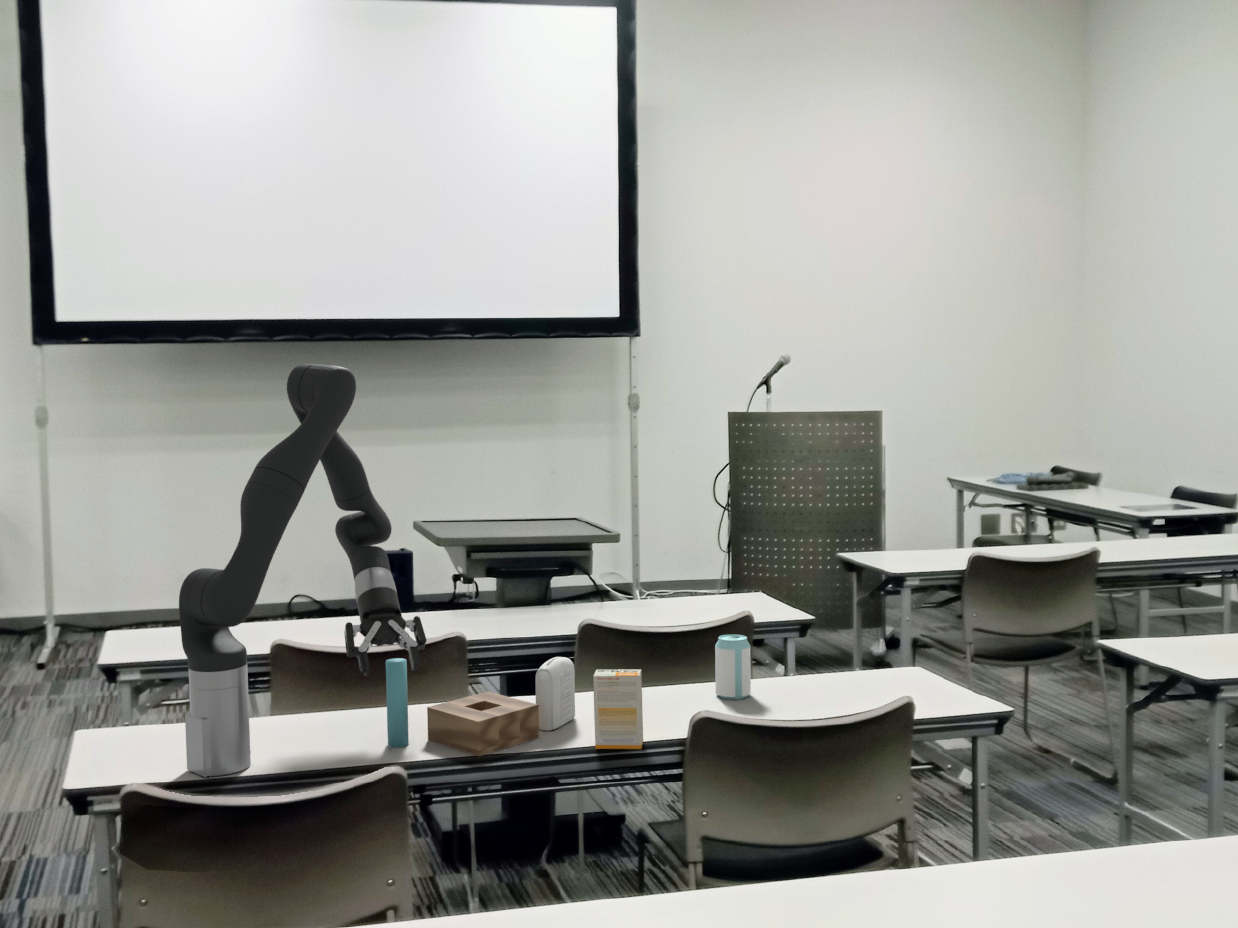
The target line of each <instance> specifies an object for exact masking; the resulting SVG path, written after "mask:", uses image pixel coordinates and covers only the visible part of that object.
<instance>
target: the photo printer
mask: <svg viewBox="0 0 1238 928" xmlns="http://www.w3.org/2000/svg"><path fill="white" fill-rule="evenodd" d="M575 683H576V681H575V665H574V663H573V661H572V660H571V659H570V658H568V657H565V656H555V657H552V658H550V659H548V660H547V661H545V662H544V663H543V664H542V665H541V666H540V667H539V668H538V670H537V671H536V673H535V704H538V705H539V731H544V732H545V731H547V732H549V731H552V730H556V729H558V728H560V727H562V726H563V725H566V724H568V722H571V721H572V720H573V719H574V718H575V716H576V699H575V698H576V697H575V696H576V695H575V694H576V693H575V692H576V687H575V685H576V684H575Z"/></svg>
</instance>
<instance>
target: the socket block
mask: <svg viewBox="0 0 1238 928" xmlns="http://www.w3.org/2000/svg"><path fill="white" fill-rule="evenodd" d="M426 708H427V712H426V713H427V714H426V715H427V741H429V742H432V743H436V744H438V745H441V746H445V747H448V748H452V749H454V750H458V751H461V752H464V753H467V754H471V755H473V756H476V757H481V756H485V755H487V754H491V753H494V752H497V751H500V750H504V749H507V748H510V747H511V748H512V747H513V746H517V745H520V744H524V743H527V742H529V741H532V740H537V739H539V738H540V729H539V705H538V704H536V703H533V702H530V701H525V700H521V699H518V698H514V697H511V696H507V695H502V694H499V693H494V692H492V691H485V692H480V693H477V694H473V695H469V696H465V697H461V698H458V699H453V700H450V701H445V702H442V703H439V704H438V703H437V704H434V705H431V706H427V707H426Z"/></svg>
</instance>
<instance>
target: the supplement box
mask: <svg viewBox="0 0 1238 928" xmlns="http://www.w3.org/2000/svg"><path fill="white" fill-rule="evenodd" d="M642 676H643V675H642V669H641V668H640V669H632V668H631V669H629V668H628V669H623V668H621V669H605V668H604V669H600V668H599V669H598V668H597V669H596V670H595V672H594V674H593V676H592V677H593V678H592V680H593V682H592V683H593V710H594V711H593V713H594V714H593V715H594V717H593V718H594V719H593V720H594V745H595V747H594V748H595V749H596V750H642V748H643V743H644V721H643V719H644V717H643V715H644V714H643V685H642V684H643V683H642V681H643V679H642V678H643V677H642Z"/></svg>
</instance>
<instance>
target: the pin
mask: <svg viewBox="0 0 1238 928" xmlns="http://www.w3.org/2000/svg"><path fill="white" fill-rule="evenodd" d="M407 664H408V663H407V659H406V658H402V657H401V658H400V657H397V658H396V657H395V658H389V659H386V660H385V680H386V681H385V682H386V683H385V685H386V717H387V718H386V723H387V724H386V725H387V727H386V728H387V746H388V747H389V748H396V749H397V748H398V749H400V748H405V747H406V746H408V745H409V743H410V741H409V710H408V709H409V705H408V704H409V703H408V702H409V701H408V698H409V697H408V665H407Z"/></svg>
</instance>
